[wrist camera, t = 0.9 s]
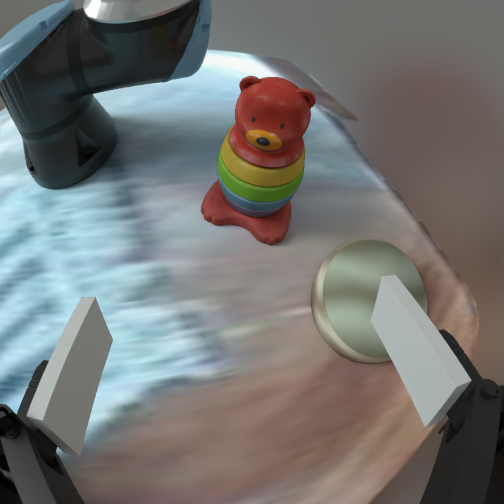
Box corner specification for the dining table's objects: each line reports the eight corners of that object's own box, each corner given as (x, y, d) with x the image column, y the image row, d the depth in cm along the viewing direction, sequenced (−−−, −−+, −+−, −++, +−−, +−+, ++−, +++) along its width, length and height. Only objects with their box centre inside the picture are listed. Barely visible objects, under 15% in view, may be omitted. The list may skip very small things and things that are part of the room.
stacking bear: (195, 218, 36) (190, 99, 20) (226, 160, 40) (240, 47, 24) (279, 250, 35) (333, 146, 19) (301, 187, 40) (348, 82, 24)
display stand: (298, 252, 36) (305, 241, 33) (397, 241, 38) (408, 231, 36) (325, 377, 30) (335, 377, 27) (425, 346, 33) (440, 342, 30)
